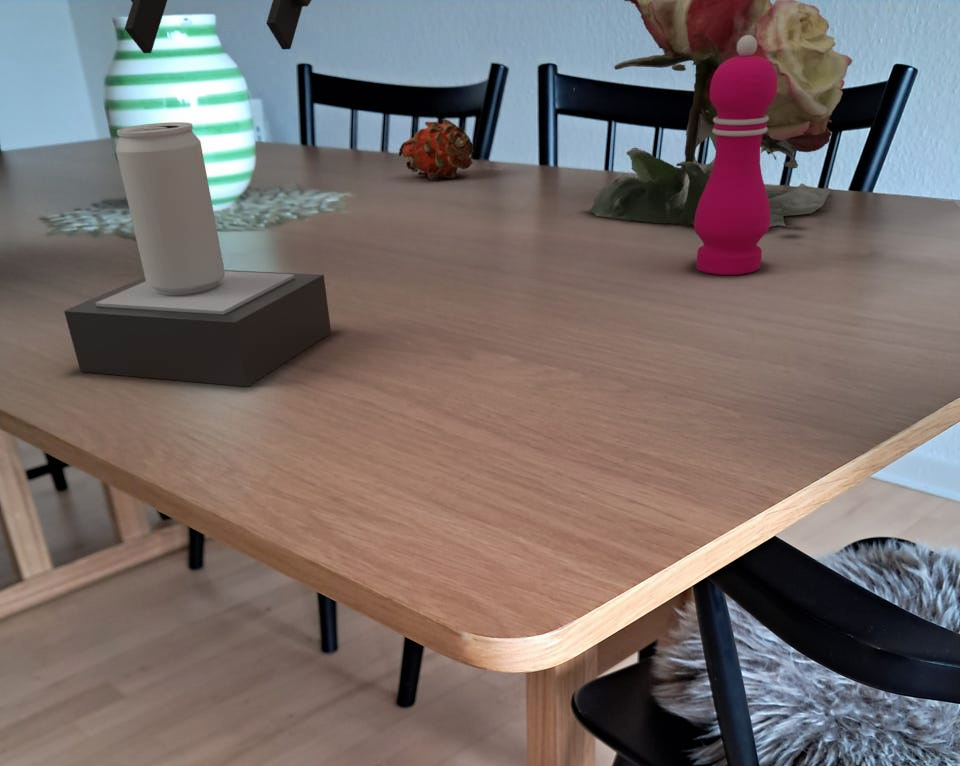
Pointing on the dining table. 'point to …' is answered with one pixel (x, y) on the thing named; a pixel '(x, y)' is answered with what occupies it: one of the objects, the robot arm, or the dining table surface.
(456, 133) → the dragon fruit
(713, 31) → the rose bouquet
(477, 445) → the dining table surface
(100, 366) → the cup warmer
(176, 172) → the beverage can
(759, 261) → the pepper mill
